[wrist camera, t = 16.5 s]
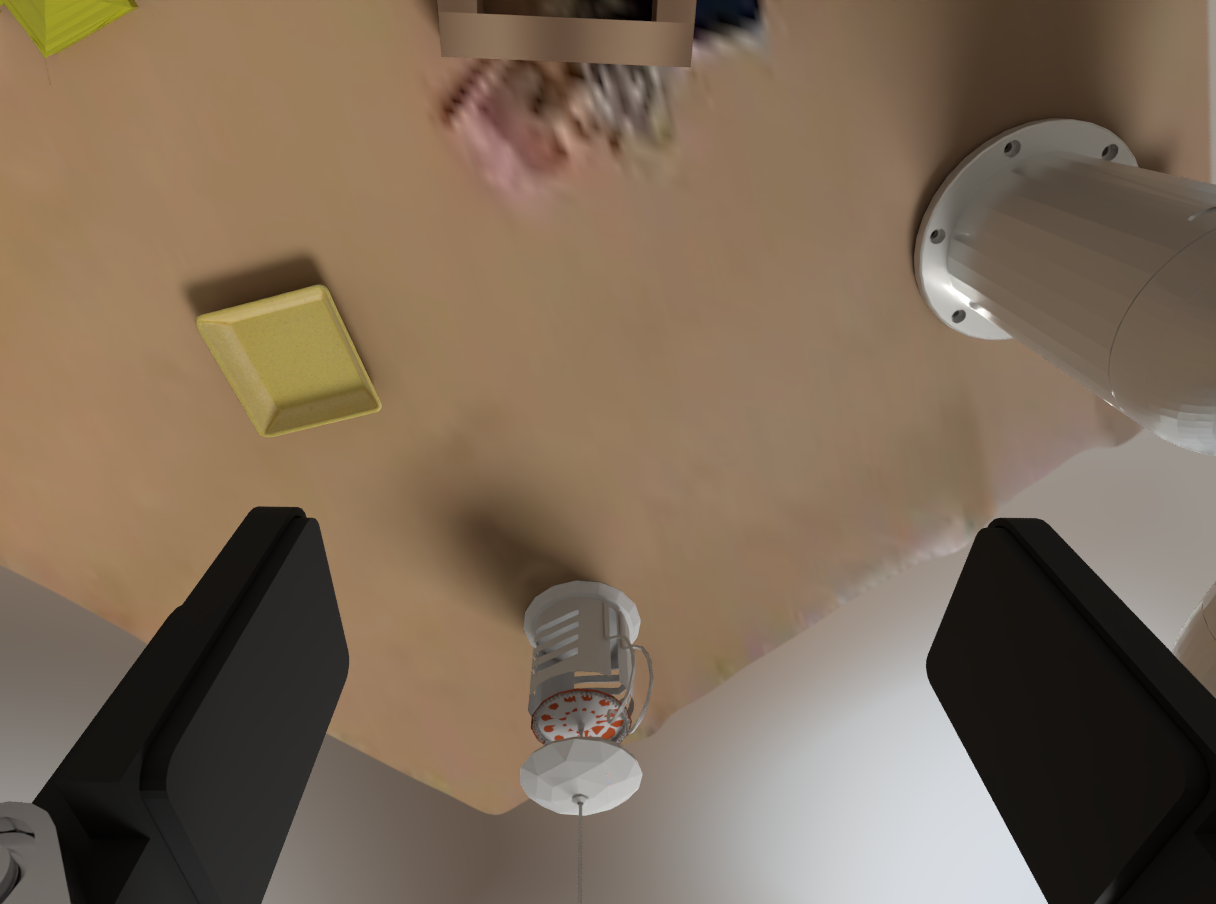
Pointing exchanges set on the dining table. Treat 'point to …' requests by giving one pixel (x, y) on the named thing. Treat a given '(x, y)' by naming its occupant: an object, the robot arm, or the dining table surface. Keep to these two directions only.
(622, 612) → the french press
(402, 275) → the dining table surface
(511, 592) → the dining table surface
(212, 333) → the yellow shallow rimmed piece
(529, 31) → the hollow square frame
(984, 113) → the dining table surface
